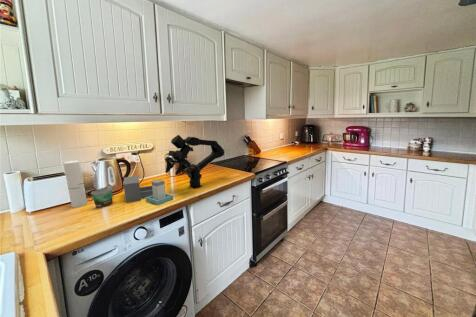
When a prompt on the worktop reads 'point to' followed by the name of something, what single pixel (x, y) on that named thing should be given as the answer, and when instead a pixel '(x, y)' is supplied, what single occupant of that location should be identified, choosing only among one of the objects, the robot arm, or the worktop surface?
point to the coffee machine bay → (135, 189)
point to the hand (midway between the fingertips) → (170, 173)
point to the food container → (103, 196)
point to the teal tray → (161, 201)
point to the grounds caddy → (158, 189)
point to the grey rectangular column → (75, 183)
